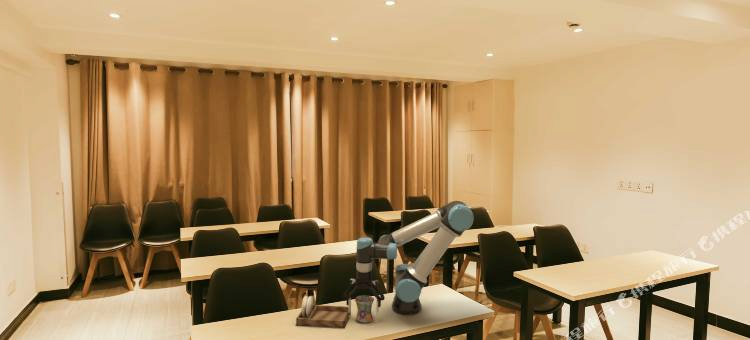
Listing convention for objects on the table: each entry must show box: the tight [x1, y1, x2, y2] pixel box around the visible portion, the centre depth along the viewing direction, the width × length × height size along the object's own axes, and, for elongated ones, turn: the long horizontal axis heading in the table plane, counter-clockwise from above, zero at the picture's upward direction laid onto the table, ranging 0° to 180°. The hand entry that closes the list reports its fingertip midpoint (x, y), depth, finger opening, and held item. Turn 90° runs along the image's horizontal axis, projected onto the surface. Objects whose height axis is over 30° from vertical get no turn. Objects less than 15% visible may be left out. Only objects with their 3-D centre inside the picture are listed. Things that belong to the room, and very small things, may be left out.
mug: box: [354, 295, 375, 324], centre depth 215 cm, size 12×9×11 cm
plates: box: [300, 295, 314, 318], centre depth 215 cm, size 3×10×10 cm, turn 173°
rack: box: [295, 304, 352, 329], centre depth 215 cm, size 23×17×4 cm
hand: (363, 312), depth 215 cm, fingers open, 13 cm apart
